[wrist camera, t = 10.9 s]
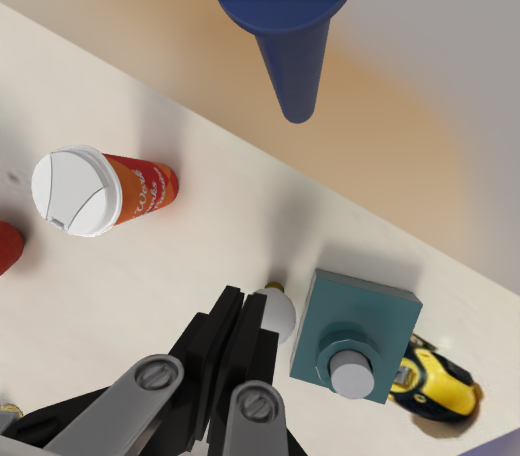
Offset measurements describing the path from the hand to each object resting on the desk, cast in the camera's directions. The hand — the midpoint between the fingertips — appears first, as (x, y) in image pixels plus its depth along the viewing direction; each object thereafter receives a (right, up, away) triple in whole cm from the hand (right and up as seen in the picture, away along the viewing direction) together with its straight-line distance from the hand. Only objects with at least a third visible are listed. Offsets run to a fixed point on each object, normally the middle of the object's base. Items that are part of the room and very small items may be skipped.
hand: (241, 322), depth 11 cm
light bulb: (+3, -4, +25) cm, 25 cm away
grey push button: (+11, -12, +20) cm, 26 cm away
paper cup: (-12, +9, +24) cm, 29 cm away
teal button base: (+12, -9, +24) cm, 29 cm away
